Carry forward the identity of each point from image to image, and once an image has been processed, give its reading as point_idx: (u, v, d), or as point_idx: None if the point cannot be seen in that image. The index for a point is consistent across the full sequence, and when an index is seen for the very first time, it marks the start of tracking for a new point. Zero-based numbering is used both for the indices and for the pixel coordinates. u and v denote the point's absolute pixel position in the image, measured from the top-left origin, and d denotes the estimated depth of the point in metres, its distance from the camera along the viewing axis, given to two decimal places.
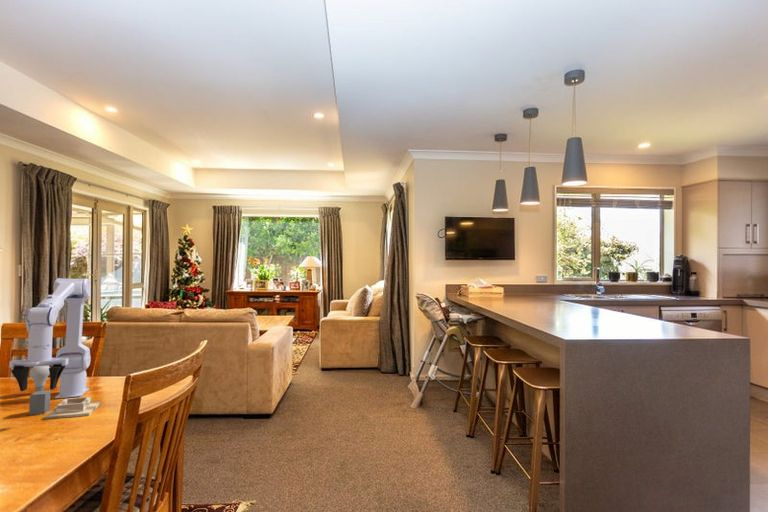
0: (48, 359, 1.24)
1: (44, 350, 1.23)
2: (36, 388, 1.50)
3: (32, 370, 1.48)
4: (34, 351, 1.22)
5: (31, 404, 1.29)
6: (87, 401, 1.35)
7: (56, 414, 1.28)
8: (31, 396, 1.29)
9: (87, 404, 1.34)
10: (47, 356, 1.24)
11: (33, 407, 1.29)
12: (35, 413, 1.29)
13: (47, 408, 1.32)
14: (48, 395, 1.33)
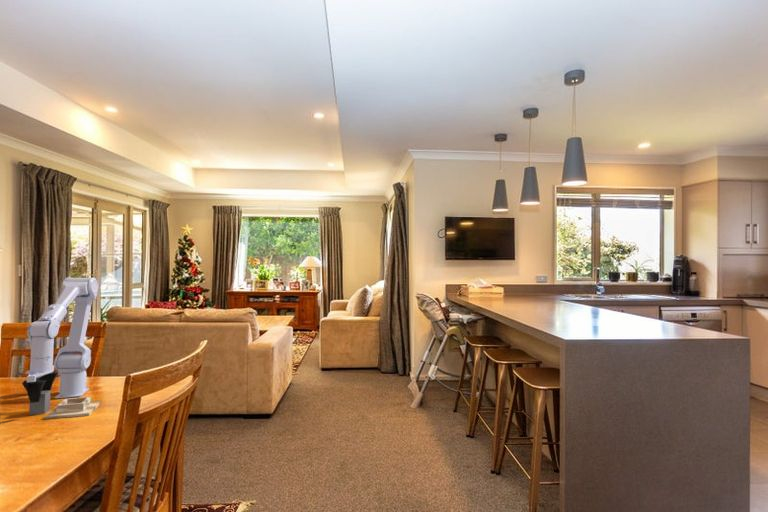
0: (33, 372, 1.29)
1: (31, 362, 1.29)
2: None
3: None
4: None
5: (31, 404, 1.29)
6: (87, 401, 1.35)
7: (56, 414, 1.28)
8: None
9: (87, 404, 1.34)
10: (33, 368, 1.29)
11: (33, 407, 1.29)
12: (35, 413, 1.29)
13: (47, 408, 1.32)
14: (48, 395, 1.33)
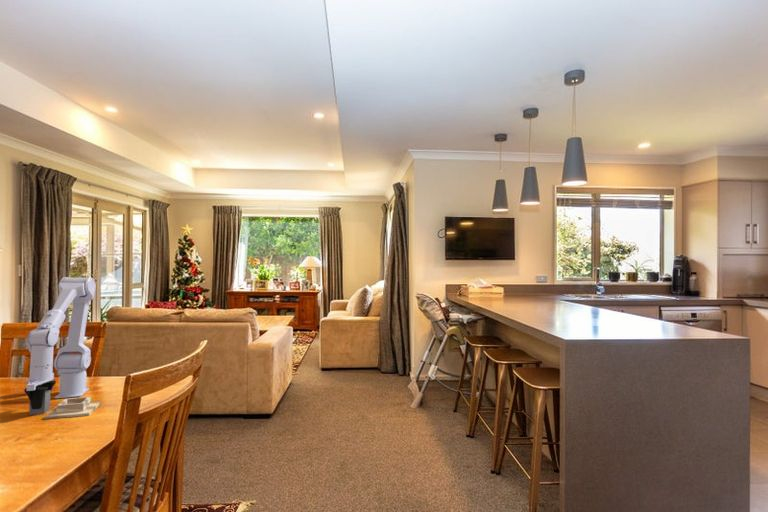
0: (33, 380, 1.29)
1: (31, 370, 1.29)
2: None
3: None
4: None
5: None
6: (87, 401, 1.35)
7: (56, 414, 1.28)
8: None
9: (87, 404, 1.34)
10: (32, 376, 1.29)
11: None
12: (35, 413, 1.29)
13: (47, 408, 1.32)
14: (48, 395, 1.33)
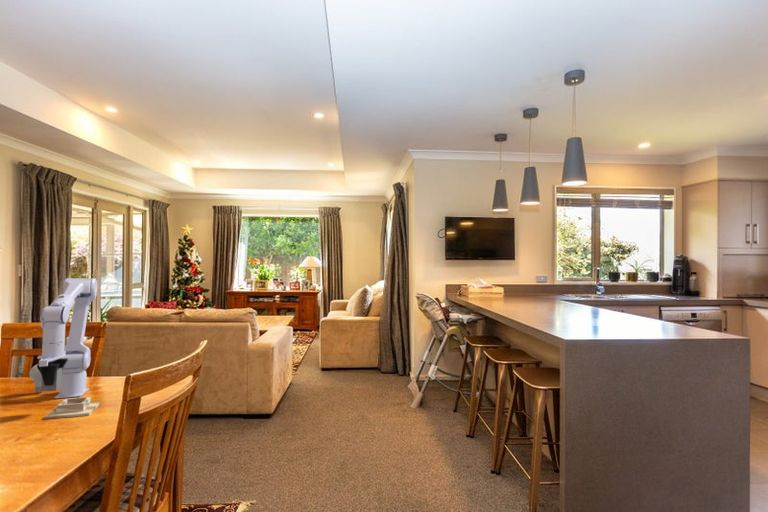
0: (45, 356, 1.30)
1: (43, 347, 1.30)
2: (36, 388, 1.50)
3: (32, 370, 1.48)
4: None
5: None
6: (87, 401, 1.35)
7: (56, 414, 1.28)
8: None
9: (87, 404, 1.34)
10: (45, 353, 1.30)
11: None
12: (47, 389, 1.30)
13: (59, 385, 1.33)
14: (60, 372, 1.33)
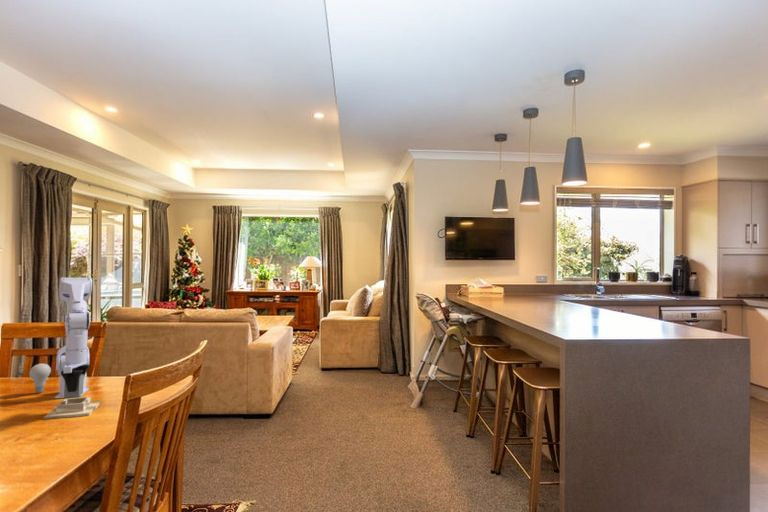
0: (69, 363, 1.31)
1: (66, 353, 1.31)
2: (36, 388, 1.50)
3: (32, 370, 1.48)
4: None
5: (66, 387, 1.31)
6: (87, 401, 1.35)
7: (56, 414, 1.28)
8: None
9: (87, 404, 1.34)
10: (68, 359, 1.31)
11: None
12: (70, 396, 1.31)
13: (81, 391, 1.34)
14: (82, 378, 1.34)
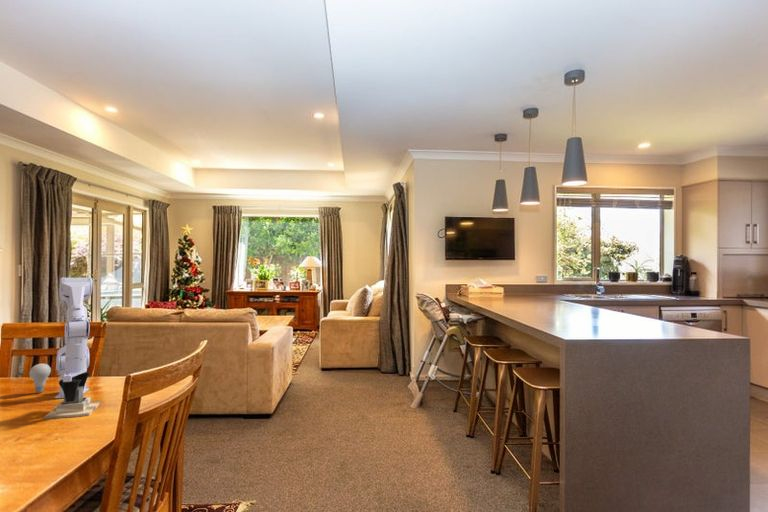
0: (68, 371, 1.31)
1: (66, 362, 1.31)
2: (36, 388, 1.50)
3: (32, 370, 1.48)
4: None
5: (65, 400, 1.31)
6: (87, 401, 1.35)
7: (56, 414, 1.28)
8: None
9: (87, 404, 1.34)
10: (68, 368, 1.31)
11: (67, 403, 1.31)
12: None
13: None
14: (81, 391, 1.34)
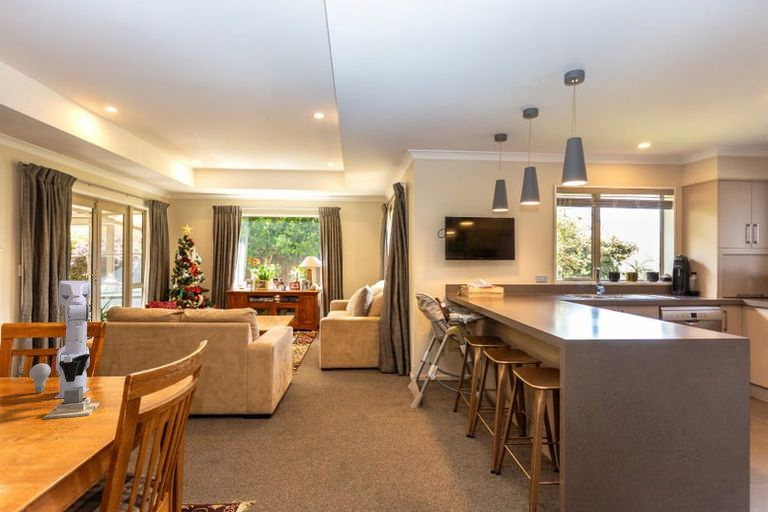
0: (69, 353, 1.36)
1: (66, 344, 1.36)
2: (36, 388, 1.50)
3: (32, 370, 1.48)
4: None
5: (65, 400, 1.31)
6: (87, 401, 1.35)
7: (56, 414, 1.28)
8: (65, 392, 1.31)
9: (87, 404, 1.34)
10: (68, 349, 1.36)
11: (67, 403, 1.31)
12: None
13: None
14: (81, 391, 1.34)
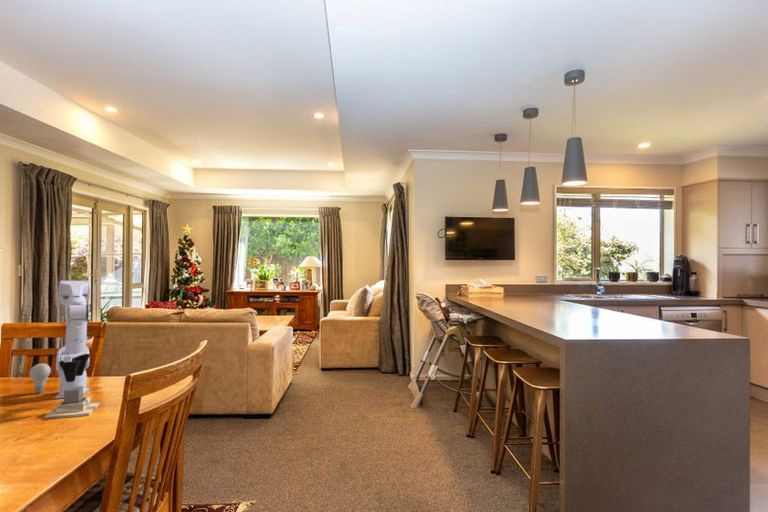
0: (69, 353, 1.36)
1: (66, 343, 1.36)
2: (36, 388, 1.50)
3: (32, 370, 1.48)
4: None
5: (65, 400, 1.31)
6: (87, 401, 1.35)
7: (56, 414, 1.28)
8: (65, 392, 1.31)
9: (87, 404, 1.34)
10: (68, 349, 1.36)
11: (67, 403, 1.31)
12: None
13: None
14: (81, 391, 1.34)
